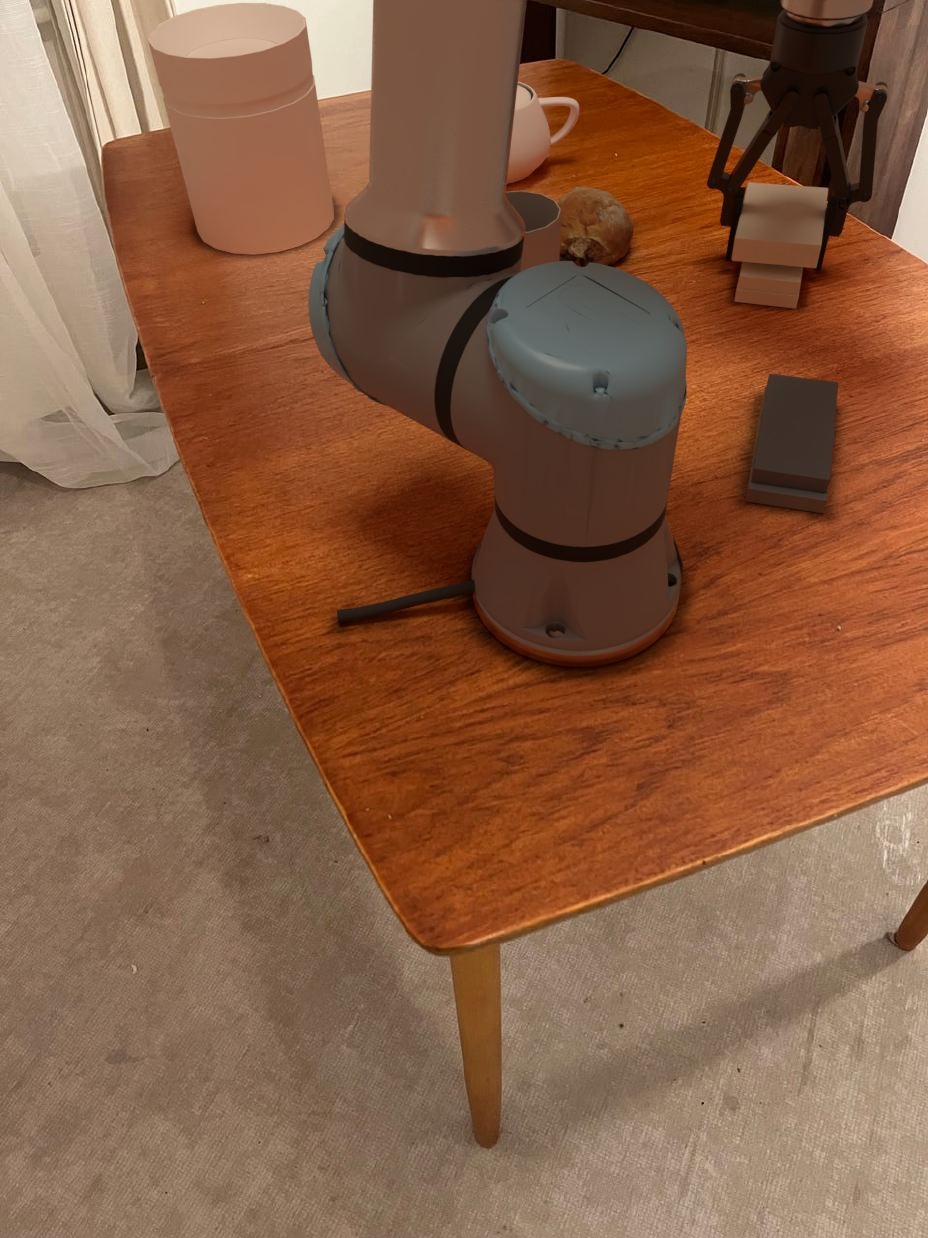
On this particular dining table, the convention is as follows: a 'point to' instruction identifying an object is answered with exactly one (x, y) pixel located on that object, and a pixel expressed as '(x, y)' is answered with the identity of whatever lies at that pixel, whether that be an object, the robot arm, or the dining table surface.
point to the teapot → (534, 131)
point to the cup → (538, 227)
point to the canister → (246, 125)
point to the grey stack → (794, 444)
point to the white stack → (769, 284)
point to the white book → (781, 225)
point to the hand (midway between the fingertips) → (773, 258)
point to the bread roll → (593, 227)
